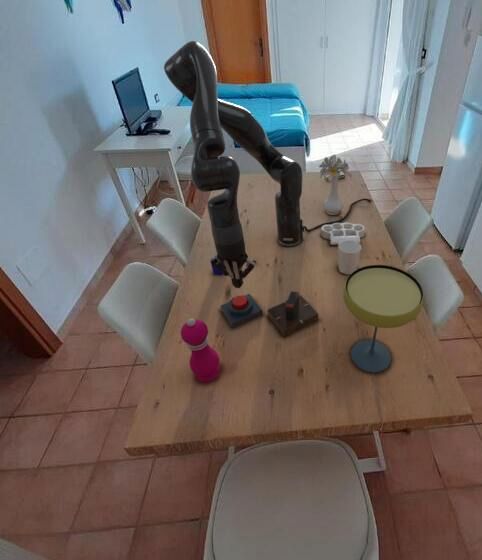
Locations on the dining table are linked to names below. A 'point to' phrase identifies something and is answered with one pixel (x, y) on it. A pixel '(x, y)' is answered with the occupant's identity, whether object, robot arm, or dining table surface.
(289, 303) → the selector knob handle
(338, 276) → the dining table surface
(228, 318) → the button box
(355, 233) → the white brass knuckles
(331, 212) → the flower vase
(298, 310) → the switch base
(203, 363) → the pepper mill
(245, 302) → the button
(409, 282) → the cocktail glass
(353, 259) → the white cup
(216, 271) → the blue notched block
